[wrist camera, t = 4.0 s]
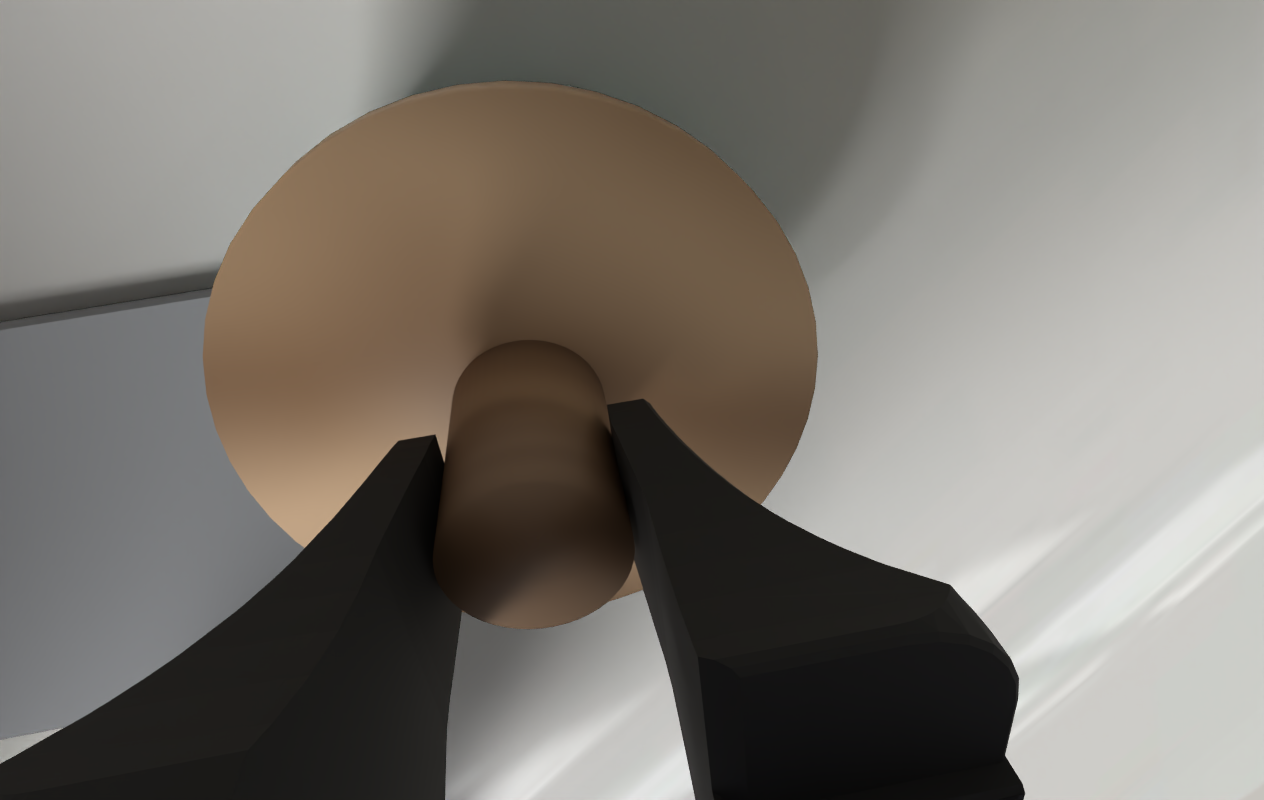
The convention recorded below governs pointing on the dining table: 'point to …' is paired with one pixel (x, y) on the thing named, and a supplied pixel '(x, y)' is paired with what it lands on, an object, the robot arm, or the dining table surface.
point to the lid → (507, 330)
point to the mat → (114, 507)
